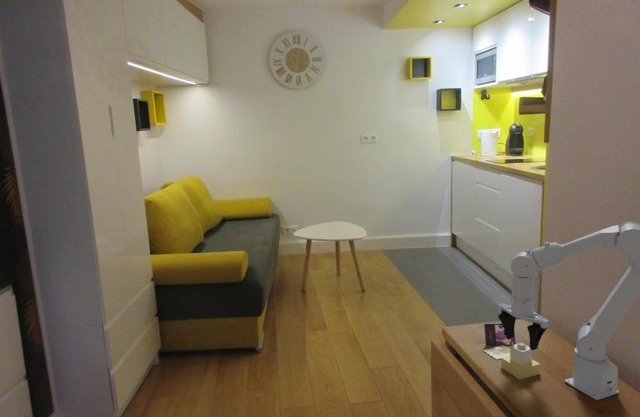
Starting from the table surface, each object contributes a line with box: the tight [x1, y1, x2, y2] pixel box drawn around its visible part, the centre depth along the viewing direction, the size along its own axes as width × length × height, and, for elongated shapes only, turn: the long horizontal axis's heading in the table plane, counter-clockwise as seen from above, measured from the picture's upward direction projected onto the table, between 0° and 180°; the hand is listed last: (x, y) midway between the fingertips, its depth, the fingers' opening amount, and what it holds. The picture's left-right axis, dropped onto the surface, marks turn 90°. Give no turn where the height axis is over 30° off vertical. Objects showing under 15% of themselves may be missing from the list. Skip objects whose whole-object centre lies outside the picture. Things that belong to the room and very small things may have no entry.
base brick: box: [500, 356, 541, 381], centre depth 126 cm, size 7×7×3 cm
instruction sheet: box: [482, 345, 510, 361], centre depth 136 cm, size 6×8×1 cm
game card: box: [483, 323, 517, 347], centre depth 143 cm, size 7×5×9 cm
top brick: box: [509, 342, 534, 366], centre depth 125 cm, size 4×4×5 cm
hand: (521, 343), depth 124 cm, fingers open, 7 cm apart
